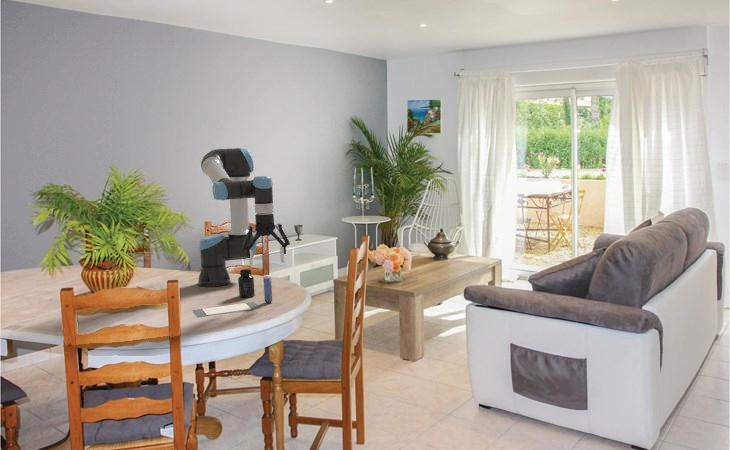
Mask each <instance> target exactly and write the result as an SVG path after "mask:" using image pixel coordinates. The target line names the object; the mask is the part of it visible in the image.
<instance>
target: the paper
mask: <svg viewBox="0 0 730 450" xmlns="http://www.w3.org/2000/svg"><path fill="white" fill-rule="evenodd" d="M246 303H247V302H244V303H242V304H241V303H235V305H234V304H229V305H228V306H227V305H222V306H221V307H219V306H214V307H213V306H212V307H213V308H212V307H207V308H206V307H205V308H206V309H205V308H201V309H202V310H203V311H204V312H205V313H206V315H213V316H215V315H214V314H220V315H222V314H221V313H227V314H229V313H228V312H234V313H236V312H235V311H241V312H243V311H242V310H248V311H250V310H249V309H251V308H250V307H249V306H248V305H247V304H246Z"/></svg>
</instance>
